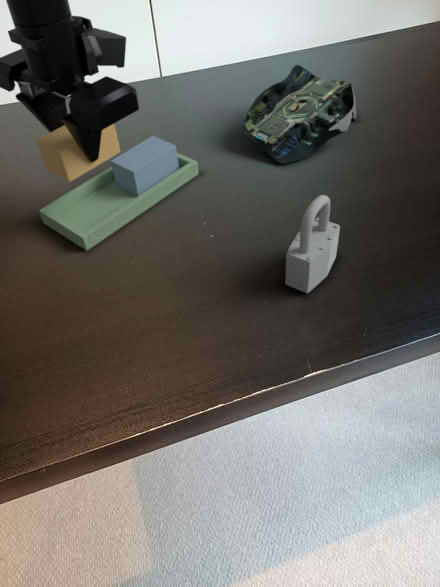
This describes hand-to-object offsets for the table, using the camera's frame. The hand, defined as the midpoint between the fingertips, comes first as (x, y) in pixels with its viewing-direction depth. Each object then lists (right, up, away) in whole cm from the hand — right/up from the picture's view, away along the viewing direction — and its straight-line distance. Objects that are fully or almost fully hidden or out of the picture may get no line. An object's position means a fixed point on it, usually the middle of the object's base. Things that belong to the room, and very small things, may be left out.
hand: (81, 154), depth 64 cm
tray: (+3, -4, +9) cm, 11 cm away
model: (+30, +8, +18) cm, 36 cm away
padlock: (+27, -14, -3) cm, 31 cm away
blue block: (+6, 0, +11) cm, 13 cm away
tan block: (0, -1, +1) cm, 1 cm away
